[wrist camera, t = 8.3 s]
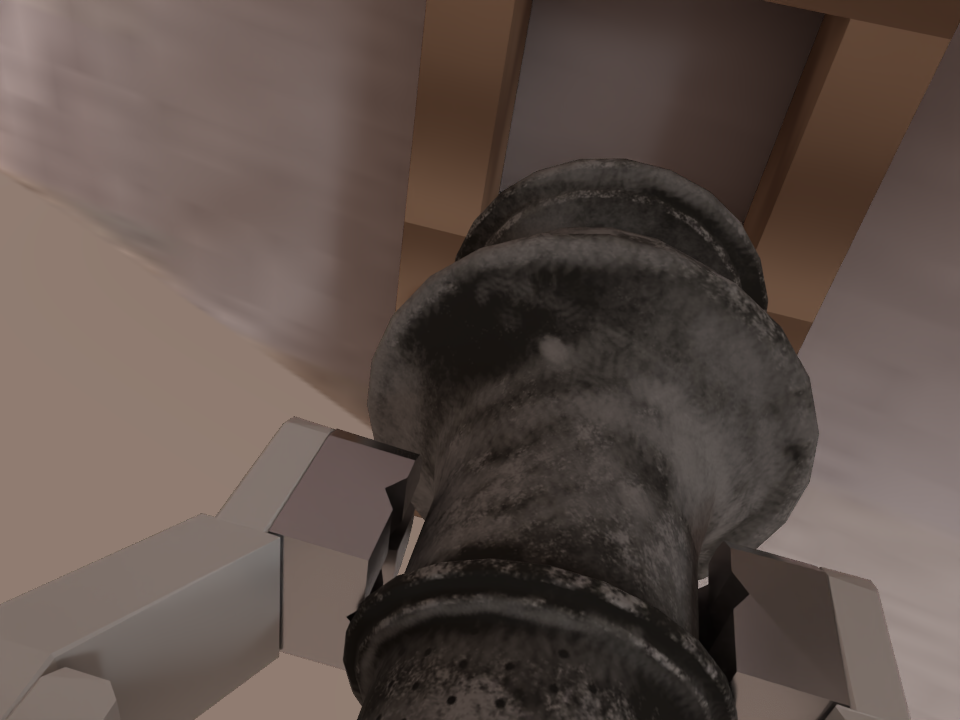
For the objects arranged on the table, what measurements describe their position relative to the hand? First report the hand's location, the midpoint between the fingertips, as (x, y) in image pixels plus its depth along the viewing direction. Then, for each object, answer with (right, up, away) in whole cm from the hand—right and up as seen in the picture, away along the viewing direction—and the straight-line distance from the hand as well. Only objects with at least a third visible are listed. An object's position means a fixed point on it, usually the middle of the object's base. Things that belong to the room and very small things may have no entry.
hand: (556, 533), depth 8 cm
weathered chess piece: (+1, +3, +5) cm, 6 cm away
